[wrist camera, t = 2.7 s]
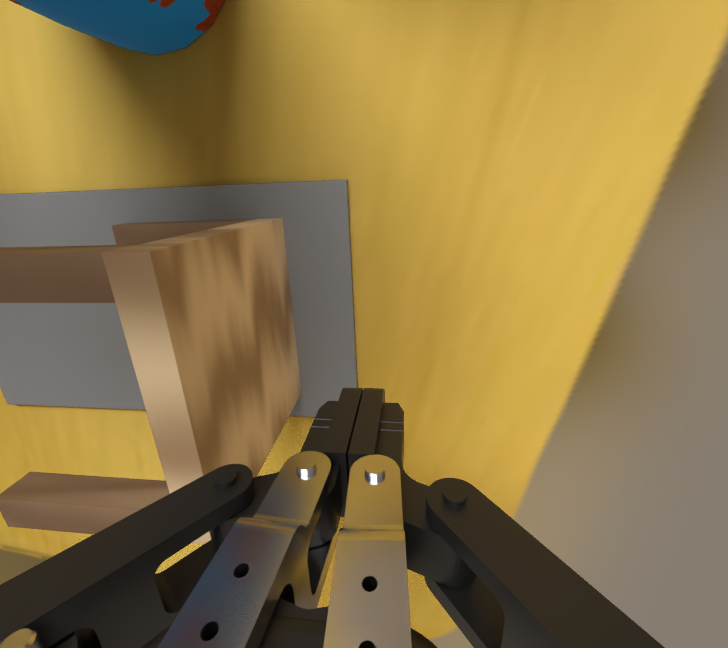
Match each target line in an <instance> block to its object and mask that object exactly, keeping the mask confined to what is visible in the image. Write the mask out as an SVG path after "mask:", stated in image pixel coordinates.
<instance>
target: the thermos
mask: <svg viewBox="0 0 728 648" xmlns="http://www.w3.org/2000/svg"><path fill="white" fill-rule="evenodd" d="M10 1H12V2H14V3H16V4H19V5H21V6H23V7H25V8H27V9H30V10H32V11H34V12H36V13H38V14H40V15H43V16H45V17H47V18H49V19H51V20H53V21H56V22H58V23H60V24H62V25H64V26H67V27H70V28H72V29H75V30H77V31H80V32H82V33H85V34H88V35H90V36H93V37H95V38H98V39H101V40H103V41H106V42H108V43H111V44H114V45H116V46H119V47H121V48H124V49H128V50H133V51H138V52H143V53H148V54H153V55H159V54H163V53H167V52H171V51H175V50H178V49H182V48H186V47H187V46H189V45H190V44H191V43H192V42H193V41H195V40H196V39H197V38H198V37H199V36H200V35H202V34H203V33H204V32H205V31H206V30H208V29H209V28H210V27H211V26H212V24H213V23H214V21H215V19H216V17H217V15H218V13H219V11H220V9H221V7H222V6H223V4H224V2H225V0H10Z"/></svg>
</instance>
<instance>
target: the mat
mask: <svg viewBox="0 0 728 648" xmlns="http://www.w3.org/2000/svg"><path fill="white" fill-rule="evenodd" d="M274 218H282V219H283V228H284V237H285V246H286V256H287V265H288V274H289V283H290V292H291V301H292V310H293V319H294V328H295V337H296V346H297V355H298V365H299V374H300V383H301V392H302V393H301V395H300V397H299V398H298V400H297V402H296V404H295V406H294V408H293V410H292V411H291V413H290V415H289V416H306V417H316V414H317V412H318V410H319V408H320V407H321V406H323V405H324V404H325V403H326V402H327V401H338V400H339V397H340V394H341V391H342V389H343V388H358V385H357V364H356V344H355V323H354V303H353V283H352V262H351V242H350V222H349V201H348V181H347V180H328V181H304V182H281V183H257V184H234V185H210V186H187V187H163V188H140V189H116V190H93V191H69V192H46V193H22V194H0V247H44V246H91V245H117V244H116V240H115V237H114V233H113V229H112V226H111V225H117V224H125V223H140V222H173V221H207V220H241V219H274ZM0 387H1V390H2V392H3V394H4V397H5V399H6V401H7V404H14V405H38V406H63V407H87V408H111V409H136V410H146V408H145V405H144V401H143V398H142V394H141V391H140V387H139V384H138V380H137V377H136V373H135V370H134V366H133V363H132V359H131V355H130V352H129V348H128V345H127V341H126V338H125V334H124V331H123V327H122V324H121V320H120V317H119V313H118V310H117V306H116V303H0Z"/></svg>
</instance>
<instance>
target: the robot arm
mask: <svg viewBox="0 0 728 648" xmlns="http://www.w3.org/2000/svg"><path fill="white" fill-rule="evenodd" d="M403 455H404V411H403V410H402V408H401V407H400V405H399V404H398V403H385V390H384V389H374V388H364V390H363V388H343V389H342V391H341V394H340V397H339V400H338V401H327V402H326V403H325V404H324V405H323V406H321V407H320V408H319V410H318V412H317V414H316V417H315V420H314V421H313V424H312V427H311V428H310V431H309V433H308V435H307V438H306V440H305V442H304V445H303V447H302V449H301V452H300V453H298V454H295V455H293V456H292V457H290V458H289V459H288V460H287V461H286V462H285V463H284V465H283V467H282V468H281V470H280V472H277V473H274V474H269V475H264V476H258V477H253V474H252V471H251V469H250V468H249V467H247V466H245V465H242V464H228V465H224V466H221V467H219V468H217V469H215V470H213V471H211V472H209V473H207V474H205V475H204V476H202V477H200V478H198V479H196V480H194V481H192V482H191V483H189V484H187V485H185V486H183V487H181V488H179V489H178V490H176V491H174V492H172V493H170V494H168V495H166V496H165V497H163V498H161V499H159V500H157V501H155V502H153V503H152V504H150V505H148V506H146V507H144V508H142V509H140V510H139V511H137V512H135V513H133V514H131V515H129V516H127V517H126V518H124V519H122V520H120V521H118V522H116V523H114V524H113V525H111V526H109V527H107V528H105V529H103V530H101V531H100V532H98V533H96V534H94V535H92V536H90V537H88V538H87V539H85V540H83V541H81V542H79V543H77V544H75V545H74V546H72V547H70V548H68V549H66V550H64V551H62V552H61V553H59V554H57V555H55V556H53V557H51V558H49V559H48V560H46V561H44V562H42V563H40V564H39V565H37V566H35V567H33V568H31V569H29V570H27V571H26V572H24V573H22V574H20V575H18V576H16V577H14V578H12V579H11V580H9V581H7V582H5V583H3V584H1V585H0V648H437V647H436V646H435V645H434V644H433V643H432V642H431V641H429V640H428V639H427V638H426V637H424V636H423V635H422V634H420V633H418V632H417V631H415V630H413V629H412V628H411V627H410V611H409V594H408V577H407V569H409V570H412V571H414V572H416V573H418V574H421V575H423V576H424V577H425V581H426V584H427V586H428V587H429V589H430V590H431V592H432V593H433V594H434V596H435V597H436V598H437V600H438V601H439V602H440V604H441V605H442V606H443V608H444V609H445V610H446V612H447V613H448V614H449V616H450V617H451V618H452V619H453V621H454V622H455V623H456V625H457V626H458V627H459V629H460V630H461V631H462V633H463V634H464V635H465V637H466V638H467V639H468V640H469V642H470V643H471V644H472V646H473V647H474V648H664V647H663V646H662V645H661V644H660V643H658V642H657V641H656V640H655V639H654V638H653V637H651V636H650V635H649V634H648V633H647V632H646V631H644V630H643V629H642V628H641V627H639V626H638V625H637V624H636V623H635V622H634V621H633V620H631V619H630V618H629V617H628V616H627V615H625V614H624V613H623V612H622V611H621V610H620V609H618V608H617V607H616V606H615V605H614V604H612V603H611V602H610V601H609V600H608V599H606V598H605V597H604V596H603V595H602V594H601V593H599V592H598V591H597V590H596V589H595V588H593V587H592V586H591V585H590V584H589V583H588V582H586V581H585V580H584V579H583V578H582V577H580V576H579V575H578V574H577V573H576V572H575V571H573V570H572V569H571V568H570V567H569V566H567V565H566V564H565V563H564V562H563V561H562V560H560V559H559V558H558V557H557V556H556V555H554V554H553V553H552V552H551V551H550V550H548V549H547V548H546V547H545V546H544V545H543V544H541V543H540V542H539V541H538V540H537V539H536V538H534V537H533V536H532V535H531V534H530V533H528V532H527V531H526V530H525V529H524V528H522V527H521V526H520V525H519V524H518V523H517V522H515V521H514V520H513V519H512V518H511V517H510V516H508V515H507V514H506V513H505V512H504V511H502V510H501V509H500V508H499V507H498V506H496V505H495V504H494V503H493V502H492V501H491V500H489V499H488V498H487V497H486V496H485V495H483V494H482V493H481V492H480V491H479V490H478V489H476V488H475V487H474V486H473V485H471V484H470V483H468V482H466V481H463V480H460V479H456V478H443V479H439V480H437V481H435V482H434V483H432V484H431V485H430V486H427V485H424V484H421V483H418V482H416V481H415V480H413V479H411V478H410V477H409V476H408V475H407V474H406V473H405V471H404V470H403ZM340 517H344V525H343V528H340V530H339V534H338V540H337V528H338V524H339V520H340ZM207 532H209V533H210V537H211V540H210V541H208V542H207V543H205V544H204V545H202V546H201V547H199V548H198V549H196V550H195V551H193V552H192V553H190V554H189V555H187V556H186V557H184V558H183V559H181V560H180V561H178V562H177V563H175V564H174V565H172V566H171V567H169V568H168V569H166V570H164V571H163V572H161V573H158V574H155V572H156V570H157V568H158V567H159V566H160V564H161V563H162V562H163V561H165V560H166V559H167V558H169V557H170V556H172V555H173V554H175V553H176V552H178V551H179V550H181V549H183V548H184V547H186V546H187V545H189V544H190V543H192V542H193V541H195V540H197V539H198V538H200V537H201V536H203V535H204V534H206V533H207ZM336 542H337V548H336V556H335V563H334V571H333V578H332V586H331V593H330V601H329V606H328V607H322V608H317V606H318V602H319V599H320V595H321V592H322V589H323V585H324V582H325V579H326V576H327V572H328V569H329V566H330V562H331V559H332V556H333V552H334V549H335V546H336Z"/></svg>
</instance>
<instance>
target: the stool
mask: <svg viewBox="0 0 728 648" xmlns="http://www.w3.org/2000/svg"><path fill="white" fill-rule="evenodd" d="M111 226H112V229H113V233H114V237H115V240H116V244H117V245H91V246H44V247H0V303H116V306H117V310H118V313H119V317H120V320H121V324H122V327H123V331H124V334H125V338H126V341H127V345H128V348H129V352H130V355H131V359H132V363H133V366H134V370H135V373H136V377H137V380H138V384H139V387H140V391H141V394H142V398H143V401H144V405H145V408H146V412H147V415H148V419H149V422H150V426H151V429H152V433H153V436H154V440H155V443H156V447H157V450H158V454H159V458H160V461H161V465H162V468H163V472H164V475H165V479H166V481H159V480H144V479H129V478H114V477H99V476H85V475H70V474H55V473H40V472H29V473H28V474H27V475H25V476H24V477H23V478H21V479H20V480H19V481H17V482H16V483H15V484H13V485H12V486H11V487H9V488H8V489H7V490H5V491H4V492H3V493H1V494H0V511H1V513H2V515H3V517H4V519H5V521H6V523H7V525H8V527H19V528H31V529H42V530H53V531H64V532H75V533H86V534H96V533H98V532H100V531H101V530H103V529H105V528H107V527H109V526H111V525H113V524H114V523H116V522H118V521H120V520H122V519H124V518H126V517H127V516H129V515H131V514H133V513H135V512H137V511H139V510H140V509H142V508H144V507H146V506H148V505H150V504H152V503H153V502H155V501H157V500H159V499H161V498H163V497H165V496H166V495H168V494H170V493H172V492H174V491H176V490H178V489H179V488H181V487H183V486H185V485H187V484H189V483H191V482H192V481H194V480H196V479H198V478H200V477H202V476H204V475H205V474H207V473H209V472H211V471H213V470H215V469H217V468H219V467H221V466H224V465H228V464H242V465H245V466H247V467H249V468H250V469H251V471H252V474H253V477H257V475H258V473H259V471H260V469H261V468H262V466H263V464H264V462H265V460H266V458H267V456H268V454H269V453H270V451H271V449H272V447H273V445H274V443H275V441H276V440H277V438H278V436H279V434H280V432H281V430H282V428H283V426H284V425H285V423H286V421H287V419H288V417H289V415H290V413H291V411H292V410H293V408H294V406H295V404H296V402H297V400H298V398H299V397H300V395H301V393H302V392H301V383H300V374H299V365H298V355H297V346H296V337H295V328H294V319H293V310H292V301H291V292H290V283H289V274H288V265H287V256H286V246H285V237H284V228H283V219H282V218H274V219H241V220H207V221H173V222H140V223H125V224H117V225H111ZM210 540H211V537H210V533H209V532H207V533H206V534H204V535H203V536H201V537H200V538H198V539H197V540H195V541H193V542H192V543H197V544H205V543H207V542H208V541H210Z"/></svg>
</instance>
